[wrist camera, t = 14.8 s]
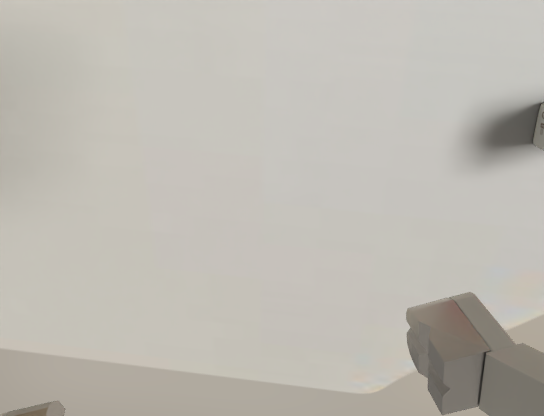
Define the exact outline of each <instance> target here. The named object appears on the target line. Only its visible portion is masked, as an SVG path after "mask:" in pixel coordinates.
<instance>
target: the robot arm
mask: <svg viewBox="0 0 544 416" xmlns="http://www.w3.org/2000/svg"><path fill="white" fill-rule="evenodd" d="M406 320H407V322H408V324H409V325H410V327H411V328H410V329H409V331H408V332H407V344H408V348H409V352H410V355H411V358H412V360H413V362H414V364H415V366H416V368H417V370H418V372H419V373H420V374H422V375H424V376H425V377H427V378H428V391H429V392H430V394H431V396H432V398H433V400H434V401H435V403H436V405H437V407H438V409H439V411H440V412H441V414H442V415H445V414H449V413H453V412H457V411H461V410H465V409H469V408H474V407H478V406H479V409H481V410H482V411H484V412H485V413H486V414H488V415H489V416H544V353H543V352H540V351H538V350H536V349H534V348H532V347H530V346H528V345H526V344H524V343H522V344H517V345H516V344H515V342H514V341H513V340H512V339H511V338H510V336H509V335H508V334H507V333H506V332H505V330H504V329H503V328H502V327H501V326H500V324H499V323H498V322H497V321H496V320H495V318H494V317H493V316H492V315H491V314H490V312H489V311H488V310H487V309H486V307H485V306H484V305H483V304H482V303H481V301H480V300H479V299H478V298H477V297H476V295H475V294H473V293H471V292H468V293H464V294H460V295H457V296H453V297H449V298H444V299H440V300H437V301H433V302H429V303H426V304H422V305H418V306H415V307H411V308H408V309H407V312H406ZM64 413H65V408H64V407H63V405H62V404H61V403H60V402H59V401H53V402H48V403H44V404H40V405H35V406H31V407H27V408H23V409H19V410H14V411H10V412H6V413H2V414H0V416H64Z"/></svg>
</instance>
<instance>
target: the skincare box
mask: <svg viewBox="0 0 544 416" xmlns="http://www.w3.org/2000/svg"><path fill="white" fill-rule="evenodd" d="M533 143H534V145H535V146H537V147H538V148H540V149H542V150H544V103H542V104H541V106H540V109H539V113H538V117H537V123H536V127H535V132H534V138H533Z"/></svg>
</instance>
